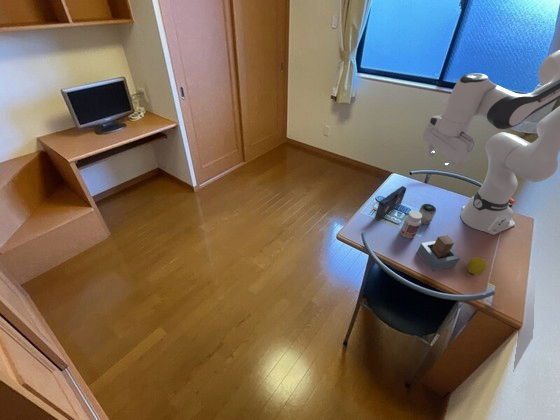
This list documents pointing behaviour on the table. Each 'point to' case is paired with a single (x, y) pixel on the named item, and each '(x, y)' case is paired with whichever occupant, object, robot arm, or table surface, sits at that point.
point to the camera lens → (427, 213)
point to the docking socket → (433, 260)
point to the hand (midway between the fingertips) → (438, 161)
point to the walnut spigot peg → (442, 246)
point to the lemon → (476, 265)
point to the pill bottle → (411, 224)
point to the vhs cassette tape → (390, 202)
